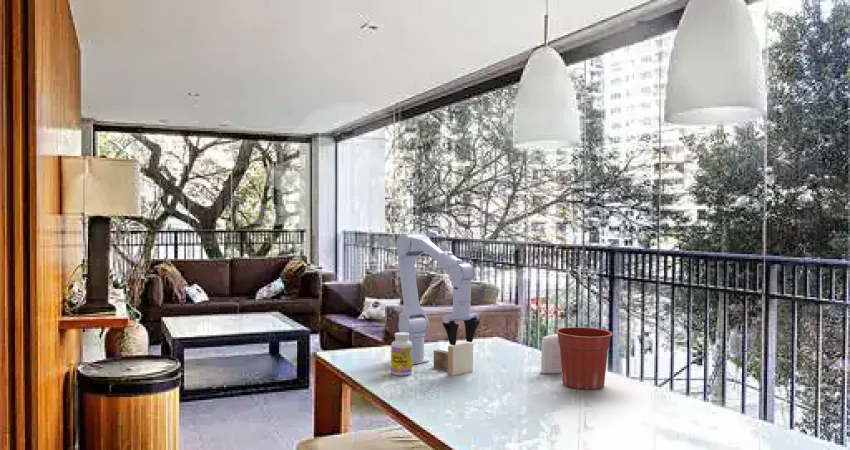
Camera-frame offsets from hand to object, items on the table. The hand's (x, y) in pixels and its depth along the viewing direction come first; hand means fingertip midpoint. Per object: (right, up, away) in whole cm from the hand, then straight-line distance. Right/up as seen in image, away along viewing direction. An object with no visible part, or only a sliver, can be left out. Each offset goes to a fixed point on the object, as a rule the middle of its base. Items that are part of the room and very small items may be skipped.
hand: (461, 343), depth 210 cm
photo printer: (+31, -10, +2) cm, 33 cm away
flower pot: (+36, -10, -14) cm, 40 cm away
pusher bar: (-5, -10, +7) cm, 13 cm away
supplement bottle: (-19, -10, -1) cm, 21 cm away
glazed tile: (0, -10, +1) cm, 10 cm away
